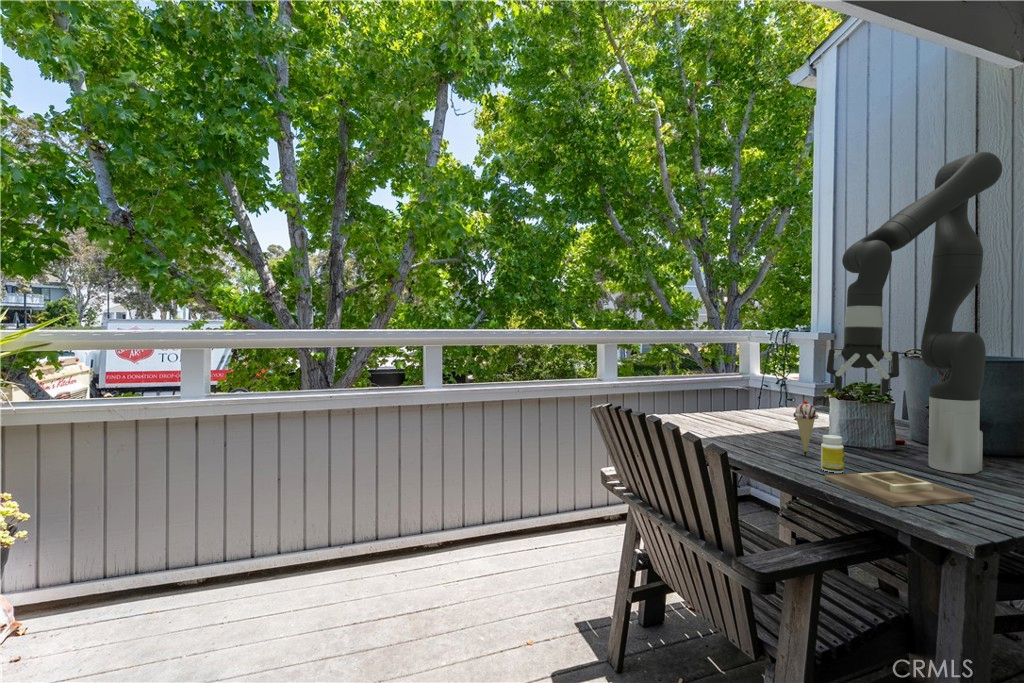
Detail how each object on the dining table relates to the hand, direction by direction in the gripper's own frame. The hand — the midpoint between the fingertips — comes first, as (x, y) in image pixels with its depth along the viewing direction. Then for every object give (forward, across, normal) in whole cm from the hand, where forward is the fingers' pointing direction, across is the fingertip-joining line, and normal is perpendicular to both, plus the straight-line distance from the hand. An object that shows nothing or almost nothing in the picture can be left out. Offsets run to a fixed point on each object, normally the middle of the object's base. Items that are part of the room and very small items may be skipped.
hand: (860, 393), depth 122 cm
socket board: (+19, -5, +12) cm, 23 cm away
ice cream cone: (+19, +11, -11) cm, 24 cm away
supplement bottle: (+19, +5, +2) cm, 20 cm away
